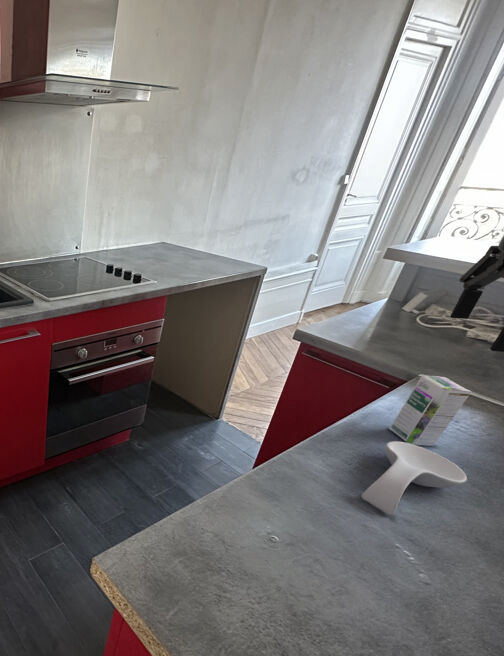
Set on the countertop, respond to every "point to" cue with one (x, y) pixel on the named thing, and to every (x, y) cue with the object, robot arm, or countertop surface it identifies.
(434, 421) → the syrup box
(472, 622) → the countertop surface
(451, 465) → the spoon rest
